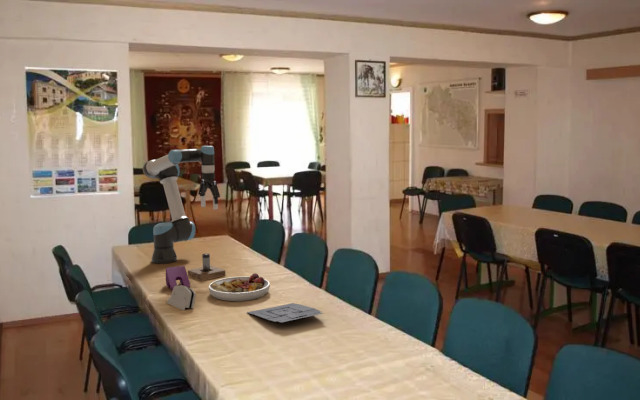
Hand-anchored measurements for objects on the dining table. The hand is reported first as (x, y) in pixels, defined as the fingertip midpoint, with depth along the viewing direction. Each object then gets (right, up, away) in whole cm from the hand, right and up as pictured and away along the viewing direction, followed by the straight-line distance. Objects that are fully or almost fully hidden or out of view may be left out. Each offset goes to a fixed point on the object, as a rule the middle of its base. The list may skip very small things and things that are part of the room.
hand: (209, 208), depth 344 cm
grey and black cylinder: (+2, -37, -19) cm, 42 cm away
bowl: (+25, -42, -54) cm, 73 cm away
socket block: (+2, -37, -19) cm, 42 cm away
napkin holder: (+1, -45, -72) cm, 84 cm away
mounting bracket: (-8, -41, -44) cm, 61 cm away
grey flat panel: (+51, -47, -90) cm, 113 cm away
